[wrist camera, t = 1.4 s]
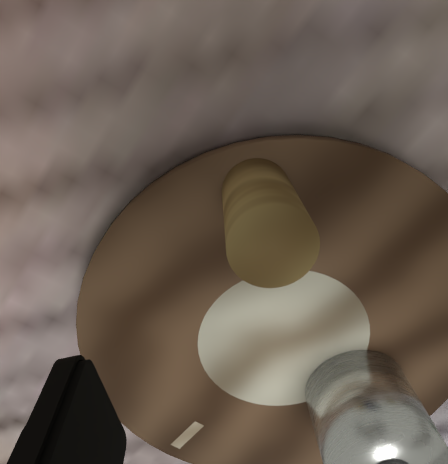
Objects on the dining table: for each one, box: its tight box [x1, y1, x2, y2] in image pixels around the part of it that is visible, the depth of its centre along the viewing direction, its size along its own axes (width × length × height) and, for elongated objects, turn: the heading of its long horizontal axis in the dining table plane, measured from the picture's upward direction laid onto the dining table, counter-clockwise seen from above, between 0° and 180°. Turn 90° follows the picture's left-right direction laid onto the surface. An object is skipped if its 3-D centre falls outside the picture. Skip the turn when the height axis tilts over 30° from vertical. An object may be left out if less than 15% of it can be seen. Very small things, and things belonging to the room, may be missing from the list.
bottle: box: [305, 350, 448, 464], centre depth 24 cm, size 7×7×7 cm
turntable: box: [76, 135, 448, 464], centre depth 23 cm, size 26×26×8 cm
